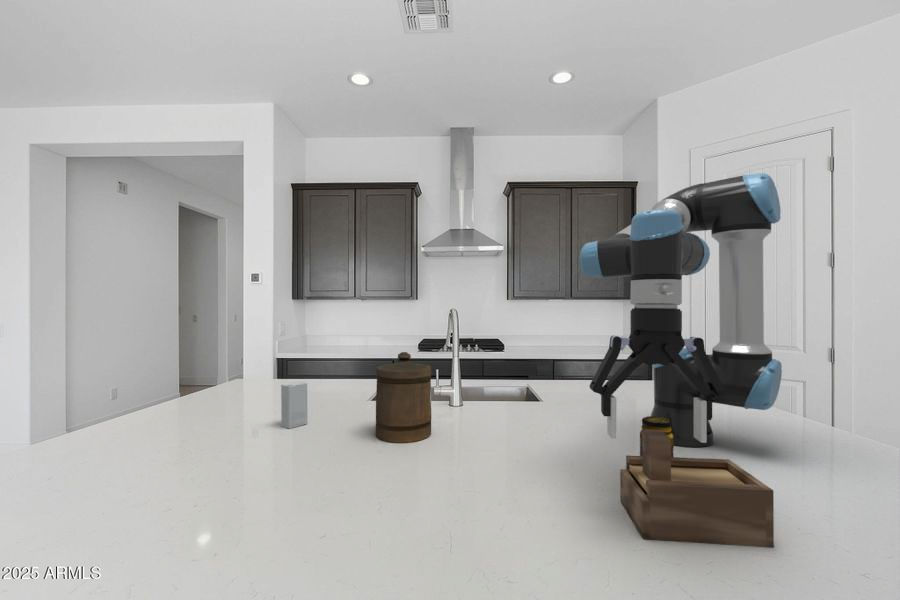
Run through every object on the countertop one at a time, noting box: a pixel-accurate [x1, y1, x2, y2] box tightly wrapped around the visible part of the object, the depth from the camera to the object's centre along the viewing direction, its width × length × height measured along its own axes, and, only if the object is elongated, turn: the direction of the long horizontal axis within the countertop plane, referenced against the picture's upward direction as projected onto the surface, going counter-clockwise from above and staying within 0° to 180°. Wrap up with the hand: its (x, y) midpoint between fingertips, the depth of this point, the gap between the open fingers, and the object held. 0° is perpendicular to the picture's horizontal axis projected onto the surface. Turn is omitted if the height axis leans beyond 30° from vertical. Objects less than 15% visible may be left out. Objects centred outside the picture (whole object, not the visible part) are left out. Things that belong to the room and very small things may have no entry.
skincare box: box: [280, 381, 308, 429], centre depth 121 cm, size 6×4×12 cm
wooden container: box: [375, 351, 432, 444], centre depth 113 cm, size 15×15×22 cm
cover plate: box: [629, 429, 744, 495], centre depth 68 cm, size 10×15×8 cm, turn 83°
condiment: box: [639, 415, 674, 457], centre depth 85 cm, size 7×8×12 cm
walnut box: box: [619, 454, 775, 548], centre depth 68 cm, size 12×18×8 cm, turn 83°
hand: (655, 438), depth 68 cm, fingers open, 13 cm apart
